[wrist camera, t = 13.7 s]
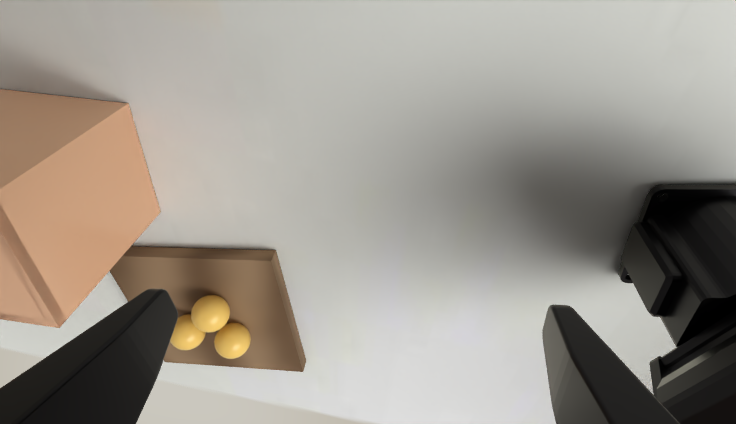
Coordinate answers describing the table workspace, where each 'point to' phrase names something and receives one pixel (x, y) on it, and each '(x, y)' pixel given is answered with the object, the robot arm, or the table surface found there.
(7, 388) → the robot arm
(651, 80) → the table surface
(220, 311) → the amber marbles
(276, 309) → the walnut pad
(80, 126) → the tan upright cuboid
